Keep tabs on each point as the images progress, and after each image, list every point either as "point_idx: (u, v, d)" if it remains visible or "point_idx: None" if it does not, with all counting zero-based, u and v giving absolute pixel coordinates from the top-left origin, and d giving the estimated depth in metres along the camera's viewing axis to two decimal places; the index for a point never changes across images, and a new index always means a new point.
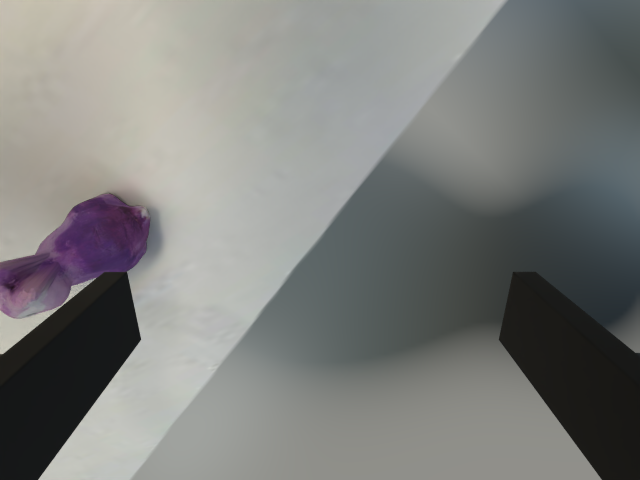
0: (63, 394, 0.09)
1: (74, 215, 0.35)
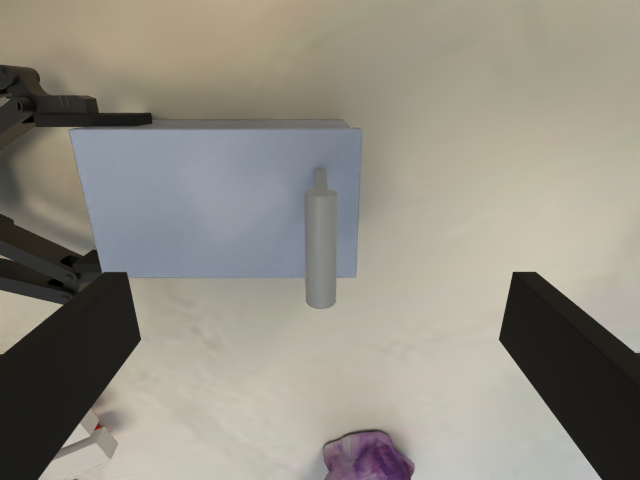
0: (63, 395, 0.09)
1: (384, 477, 0.39)
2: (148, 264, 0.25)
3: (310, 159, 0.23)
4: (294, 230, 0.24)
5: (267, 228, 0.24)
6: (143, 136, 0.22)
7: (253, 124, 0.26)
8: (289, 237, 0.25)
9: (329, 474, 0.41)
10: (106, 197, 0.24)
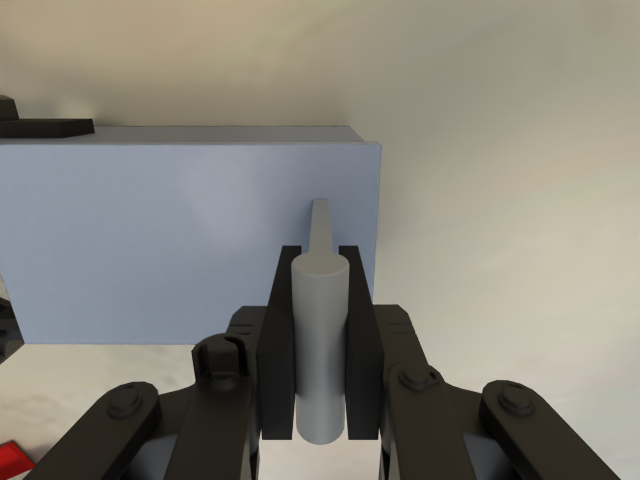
0: None
1: None
2: (84, 327, 0.18)
3: (307, 187, 0.16)
4: None
5: (247, 281, 0.17)
6: (65, 154, 0.15)
7: (229, 134, 0.19)
8: None
9: None
10: (19, 238, 0.17)
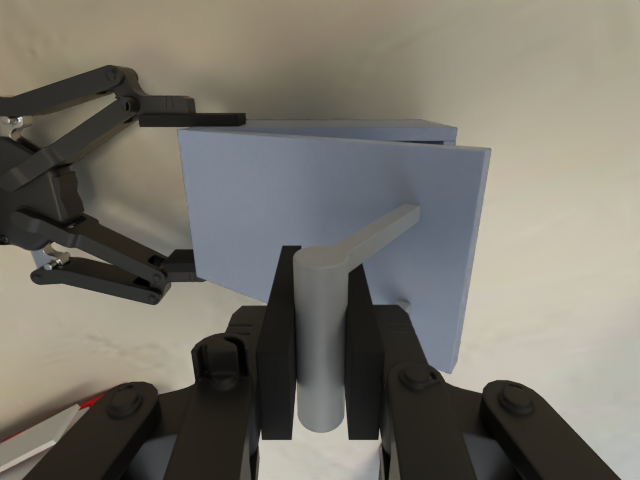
0: None
1: None
2: (228, 275, 0.24)
3: (400, 189, 0.15)
4: (370, 281, 0.18)
5: None
6: (229, 140, 0.20)
7: (349, 124, 0.26)
8: None
9: None
10: (200, 199, 0.23)
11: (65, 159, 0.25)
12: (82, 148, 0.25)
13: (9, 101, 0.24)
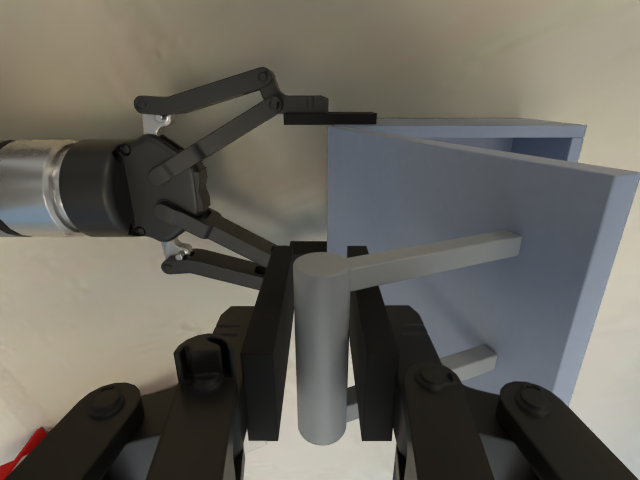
0: (285, 338, 0.11)
1: None
2: None
3: (502, 212, 0.12)
4: (459, 314, 0.15)
5: (432, 292, 0.16)
6: (359, 139, 0.20)
7: (472, 122, 0.28)
8: (452, 319, 0.15)
9: None
10: (335, 193, 0.24)
11: (208, 155, 0.27)
12: (225, 145, 0.27)
13: (164, 101, 0.26)
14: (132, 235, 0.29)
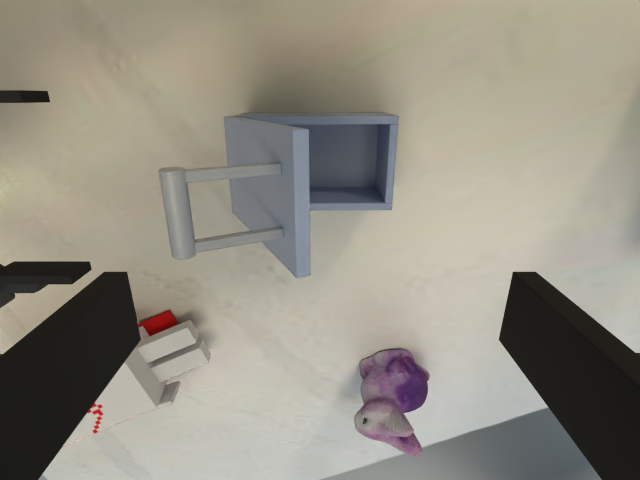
0: (63, 395, 0.09)
1: (408, 375, 0.53)
2: (239, 211, 0.37)
3: (276, 153, 0.25)
4: (273, 214, 0.28)
5: (265, 206, 0.29)
6: (235, 123, 0.33)
7: (332, 114, 0.40)
8: (272, 218, 0.28)
9: (366, 376, 0.55)
10: (231, 161, 0.37)
11: None
12: None
13: None
14: None
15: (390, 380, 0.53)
